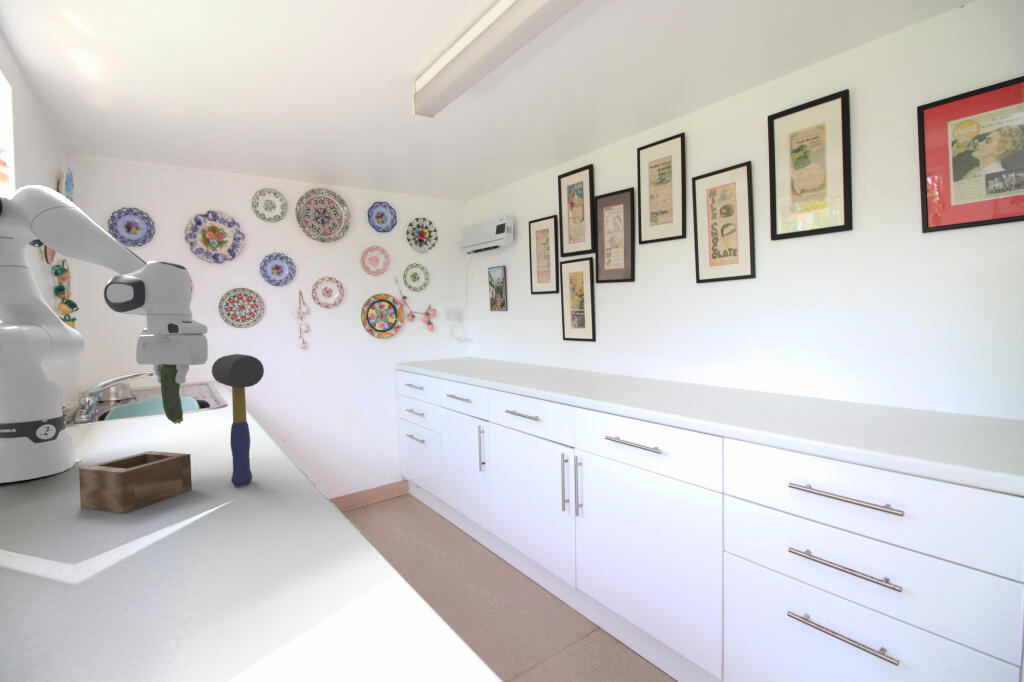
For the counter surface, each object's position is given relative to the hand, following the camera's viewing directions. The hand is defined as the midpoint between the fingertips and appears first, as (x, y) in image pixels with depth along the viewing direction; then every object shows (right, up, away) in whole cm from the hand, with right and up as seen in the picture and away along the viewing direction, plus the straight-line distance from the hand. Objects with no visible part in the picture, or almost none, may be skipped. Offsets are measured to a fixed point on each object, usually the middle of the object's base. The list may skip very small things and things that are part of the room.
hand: (171, 383), depth 106 cm
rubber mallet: (+23, -23, -9) cm, 34 cm away
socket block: (+5, -23, -15) cm, 28 cm away
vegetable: (0, -10, 0) cm, 10 cm away
